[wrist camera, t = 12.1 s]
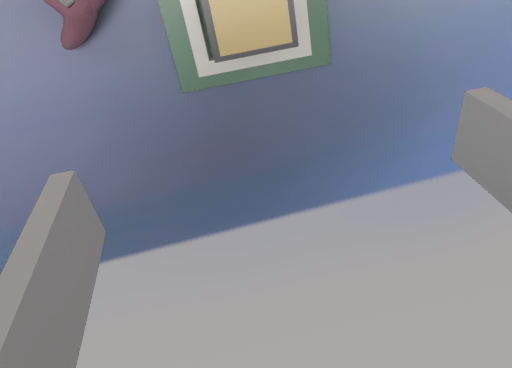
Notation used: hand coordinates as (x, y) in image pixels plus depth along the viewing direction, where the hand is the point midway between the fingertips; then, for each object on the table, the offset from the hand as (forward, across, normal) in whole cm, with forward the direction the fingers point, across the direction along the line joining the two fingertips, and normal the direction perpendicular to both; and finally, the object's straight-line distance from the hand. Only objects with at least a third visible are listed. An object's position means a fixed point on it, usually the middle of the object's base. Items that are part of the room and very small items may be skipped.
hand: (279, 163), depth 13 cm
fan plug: (+19, +2, +2) cm, 19 cm away
